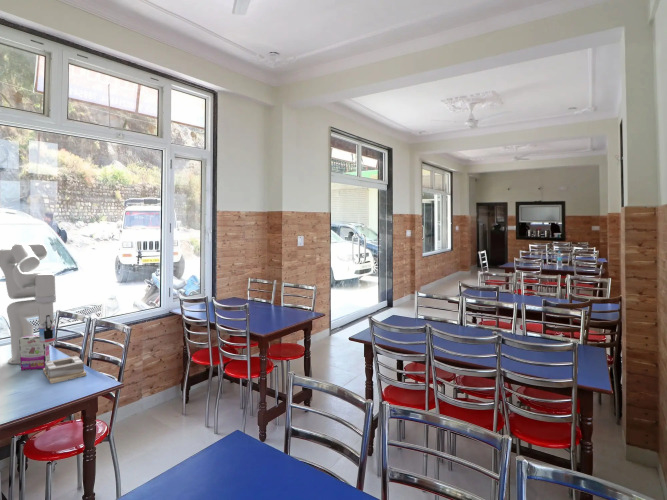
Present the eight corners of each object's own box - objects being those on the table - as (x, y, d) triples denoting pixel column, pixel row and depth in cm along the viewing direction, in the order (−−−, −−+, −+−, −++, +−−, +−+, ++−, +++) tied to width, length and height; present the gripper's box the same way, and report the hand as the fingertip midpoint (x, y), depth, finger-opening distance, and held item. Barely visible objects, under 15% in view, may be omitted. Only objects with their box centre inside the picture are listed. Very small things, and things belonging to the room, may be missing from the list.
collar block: (43, 371, 193) (42, 360, 192) (76, 364, 202) (76, 354, 202) (50, 383, 178) (50, 371, 178) (86, 375, 188) (85, 364, 188)
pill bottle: (46, 344, 181) (45, 320, 180) (36, 343, 183) (35, 319, 182) (58, 340, 187) (57, 317, 186) (48, 339, 189) (47, 316, 188)
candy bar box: (50, 365, 201) (49, 334, 199) (45, 369, 196) (44, 337, 194) (25, 367, 198) (24, 335, 197) (20, 370, 193) (18, 338, 192)
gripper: (33, 297, 187) (35, 334, 189) (38, 303, 175) (39, 342, 176) (52, 295, 192) (54, 331, 194) (58, 301, 180) (60, 339, 181)
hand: (47, 336), depth 185 cm, fingers closed on pill bottle, 6 cm apart
